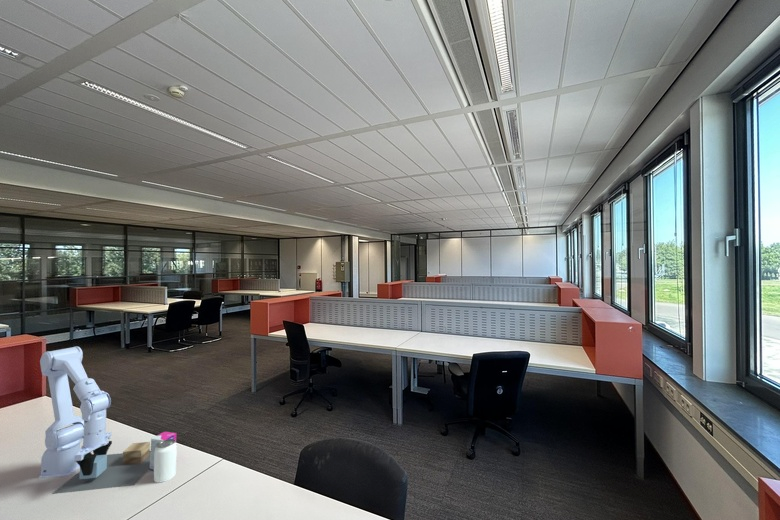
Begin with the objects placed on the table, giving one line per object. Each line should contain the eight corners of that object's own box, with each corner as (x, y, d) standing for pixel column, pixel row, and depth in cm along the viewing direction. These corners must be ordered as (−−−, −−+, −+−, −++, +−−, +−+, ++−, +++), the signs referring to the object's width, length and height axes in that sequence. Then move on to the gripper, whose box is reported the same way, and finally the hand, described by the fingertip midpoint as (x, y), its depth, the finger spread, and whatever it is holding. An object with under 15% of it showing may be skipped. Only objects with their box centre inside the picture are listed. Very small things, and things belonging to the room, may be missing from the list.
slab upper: (122, 458, 118) (122, 451, 119) (132, 449, 124) (132, 443, 124) (140, 456, 120) (140, 450, 120) (149, 448, 125) (149, 441, 126)
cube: (79, 479, 108) (80, 464, 108) (90, 470, 113) (91, 455, 113) (96, 477, 109) (96, 462, 109) (106, 468, 114) (107, 454, 114)
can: (180, 473, 114) (181, 440, 114) (162, 485, 108) (163, 449, 108) (167, 470, 116) (168, 436, 116) (149, 481, 110) (150, 446, 110)
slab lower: (122, 465, 118) (122, 458, 118) (132, 456, 124) (132, 449, 124) (140, 463, 119) (140, 456, 120) (149, 454, 125) (149, 448, 125)
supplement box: (162, 472, 115) (163, 440, 115) (148, 470, 116) (149, 438, 116) (176, 463, 120) (176, 432, 121) (163, 461, 122) (164, 430, 122)
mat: (51, 494, 103) (51, 493, 103) (100, 456, 125) (100, 455, 125) (134, 485, 108) (134, 485, 108) (167, 449, 129) (167, 449, 129)
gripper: (92, 440, 105) (91, 482, 104) (121, 419, 119) (120, 456, 119) (67, 442, 104) (66, 484, 103) (99, 421, 118) (98, 458, 117)
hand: (93, 469), depth 111 cm, fingers closed on cube, 5 cm apart
